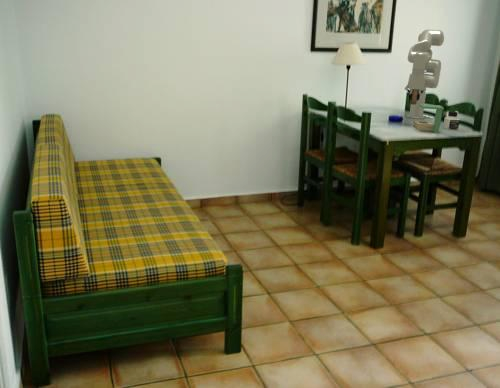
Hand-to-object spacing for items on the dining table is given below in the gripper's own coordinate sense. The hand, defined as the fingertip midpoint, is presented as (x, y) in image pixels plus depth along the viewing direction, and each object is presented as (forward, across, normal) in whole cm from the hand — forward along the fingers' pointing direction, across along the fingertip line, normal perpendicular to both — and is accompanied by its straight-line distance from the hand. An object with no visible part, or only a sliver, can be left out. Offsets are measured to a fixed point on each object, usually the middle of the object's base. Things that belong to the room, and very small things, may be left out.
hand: (413, 99), depth 349 cm
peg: (+3, 0, 0) cm, 3 cm away
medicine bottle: (+18, -26, +3) cm, 32 cm away
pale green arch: (+17, -9, +15) cm, 25 cm away
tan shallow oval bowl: (+17, -7, +7) cm, 20 cm away
